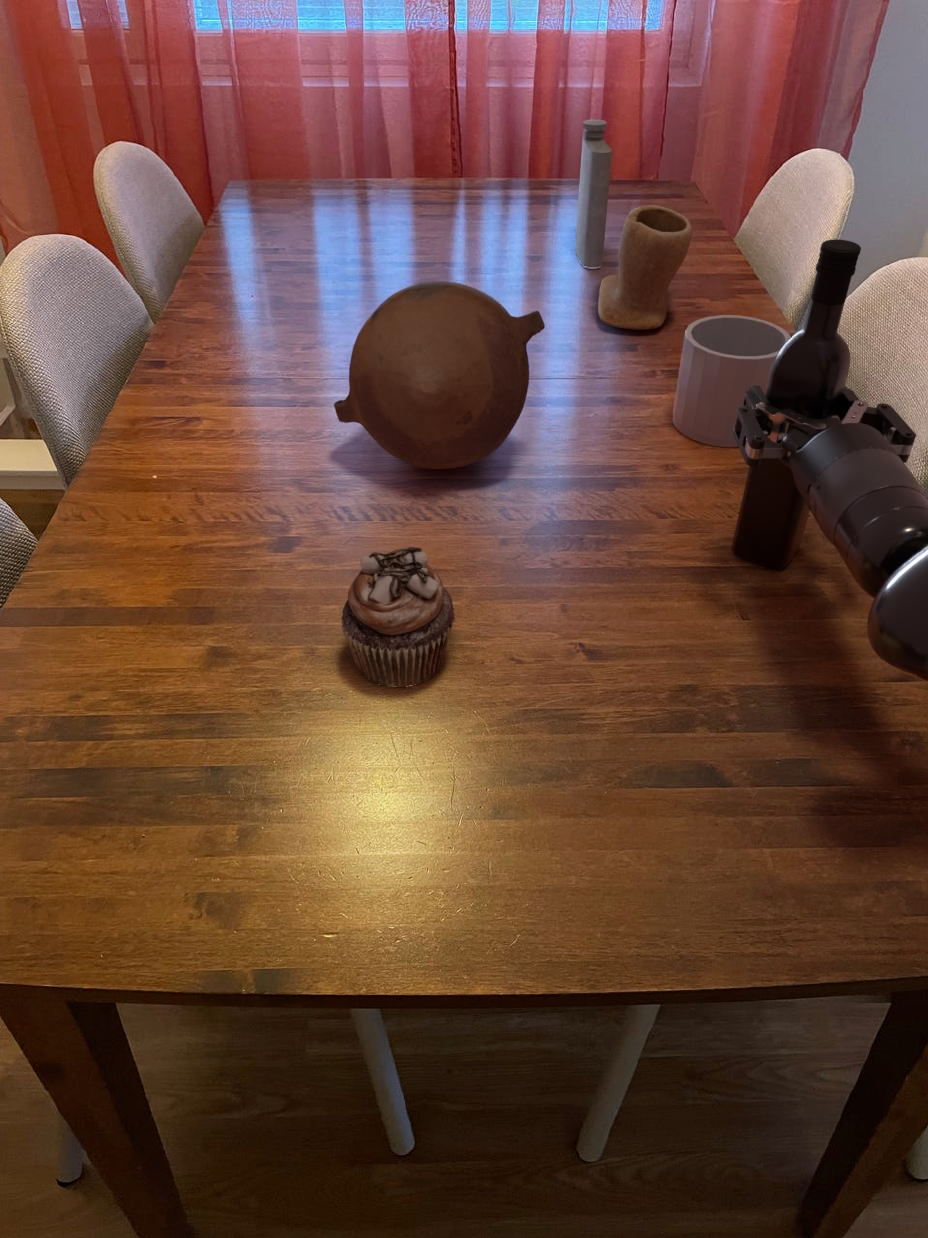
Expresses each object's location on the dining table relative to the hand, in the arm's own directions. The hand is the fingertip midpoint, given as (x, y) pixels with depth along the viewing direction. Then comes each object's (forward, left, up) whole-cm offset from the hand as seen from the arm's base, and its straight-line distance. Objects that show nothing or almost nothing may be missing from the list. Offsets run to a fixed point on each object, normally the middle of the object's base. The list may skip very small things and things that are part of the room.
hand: (793, 393), depth 86 cm
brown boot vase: (+7, -56, -16) cm, 59 cm away
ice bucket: (0, -24, -16) cm, 29 cm away
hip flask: (+13, -82, -16) cm, 84 cm away
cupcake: (+35, +19, -16) cm, 43 cm away
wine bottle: (0, +2, -16) cm, 16 cm away
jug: (+33, -21, -16) cm, 42 cm away
